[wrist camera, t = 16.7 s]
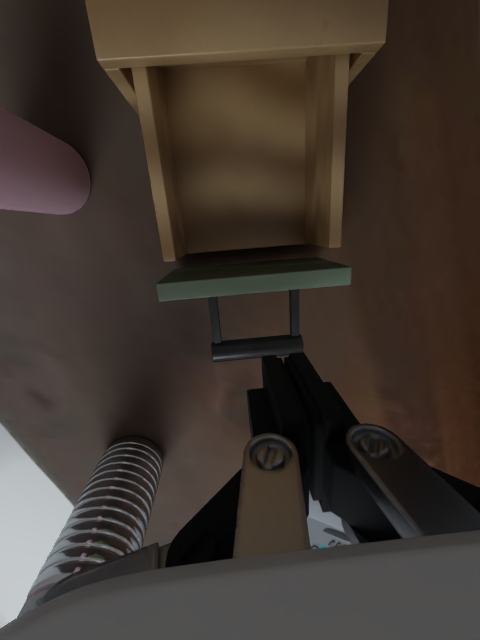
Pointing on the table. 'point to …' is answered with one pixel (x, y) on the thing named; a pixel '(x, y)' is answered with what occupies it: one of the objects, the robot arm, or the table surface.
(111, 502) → the water bottle
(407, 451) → the robot arm
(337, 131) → the drawer
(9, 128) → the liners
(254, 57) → the wood-grain box
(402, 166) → the table surface
